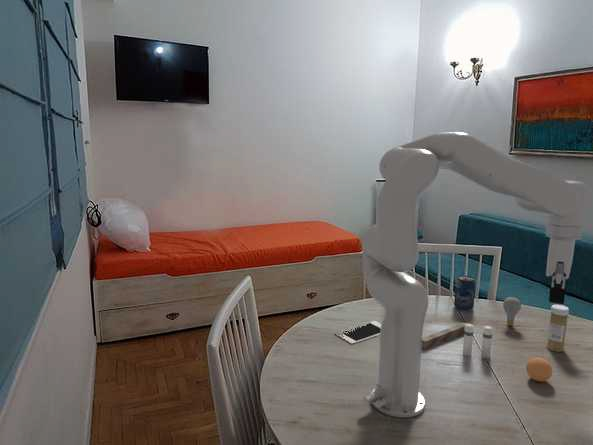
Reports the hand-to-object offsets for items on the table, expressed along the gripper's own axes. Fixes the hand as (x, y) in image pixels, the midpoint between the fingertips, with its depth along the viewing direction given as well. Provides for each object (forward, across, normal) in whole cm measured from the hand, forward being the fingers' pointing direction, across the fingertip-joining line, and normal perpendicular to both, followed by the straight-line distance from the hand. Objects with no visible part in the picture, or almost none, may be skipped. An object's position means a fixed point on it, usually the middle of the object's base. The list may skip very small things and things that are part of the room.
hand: (556, 296), depth 111 cm
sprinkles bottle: (+23, -20, +1) cm, 31 cm away
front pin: (+23, -3, -16) cm, 28 cm away
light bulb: (+23, -31, -13) cm, 41 cm away
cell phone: (+23, 0, -53) cm, 57 cm away
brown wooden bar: (+22, -9, -29) cm, 38 cm away
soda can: (+23, -38, -29) cm, 54 cm away
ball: (+20, +2, -2) cm, 20 cm away
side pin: (+23, -2, -21) cm, 31 cm away
